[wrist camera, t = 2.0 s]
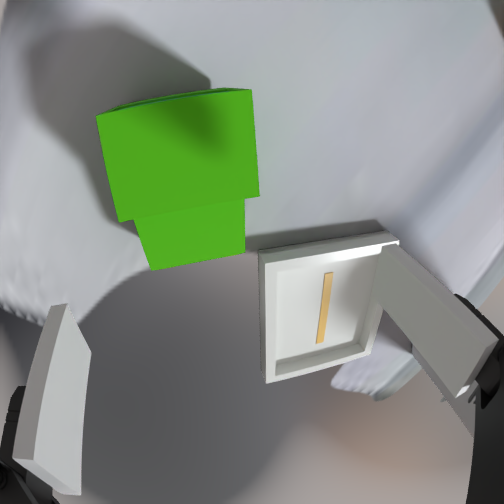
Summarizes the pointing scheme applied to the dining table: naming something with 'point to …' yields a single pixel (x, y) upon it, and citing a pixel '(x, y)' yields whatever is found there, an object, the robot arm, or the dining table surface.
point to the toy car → (183, 172)
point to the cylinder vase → (459, 403)
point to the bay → (318, 303)
